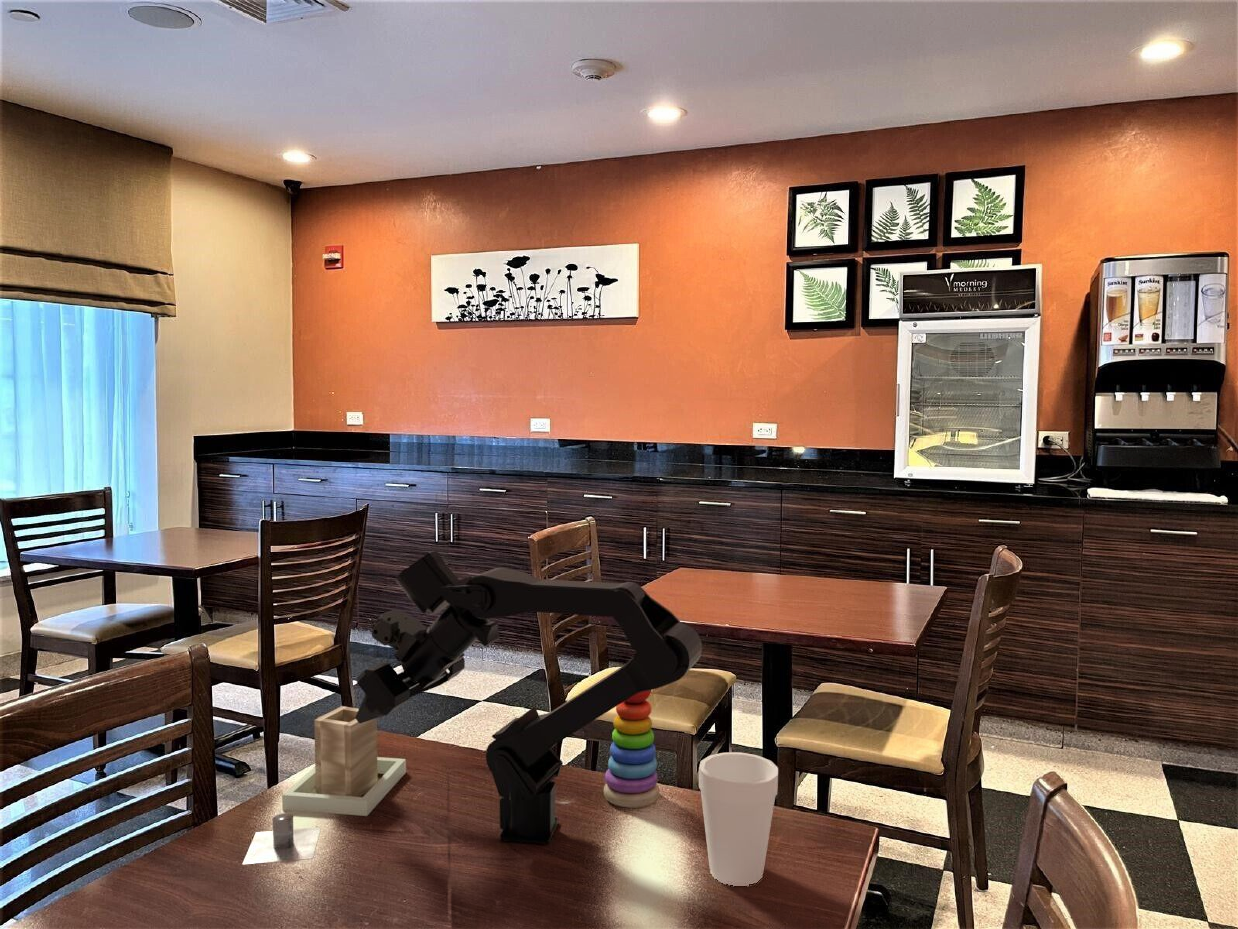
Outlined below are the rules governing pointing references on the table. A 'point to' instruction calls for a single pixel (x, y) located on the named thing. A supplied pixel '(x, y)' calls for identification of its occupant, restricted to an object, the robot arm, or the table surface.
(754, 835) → the foam cup
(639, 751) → the stacking toy
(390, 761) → the green tray
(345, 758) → the birch sleeve
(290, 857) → the stand
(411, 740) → the table surface
